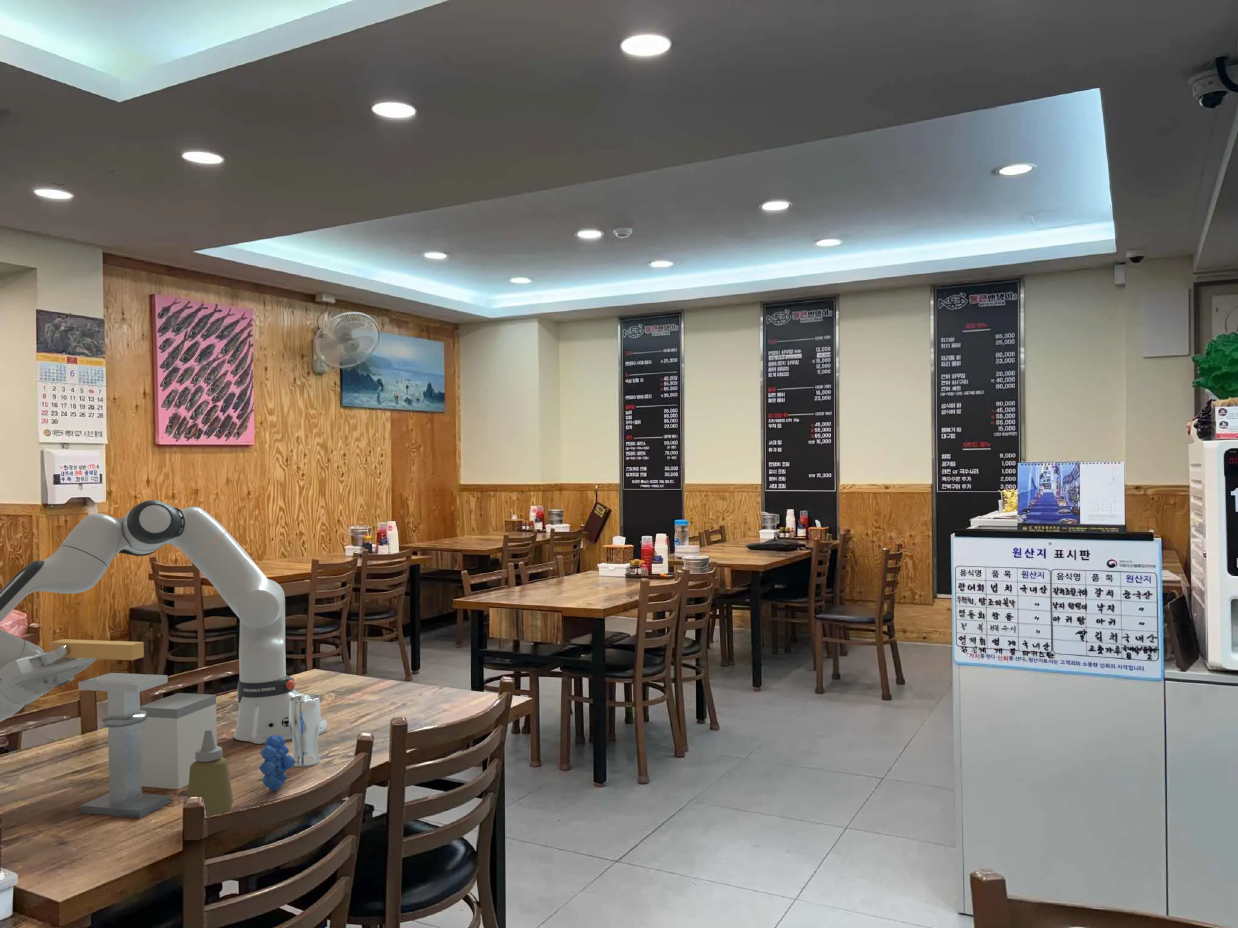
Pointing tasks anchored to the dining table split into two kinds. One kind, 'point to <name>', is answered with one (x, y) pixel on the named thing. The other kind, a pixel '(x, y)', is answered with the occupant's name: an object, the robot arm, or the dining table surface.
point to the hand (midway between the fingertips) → (75, 646)
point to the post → (124, 745)
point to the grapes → (275, 762)
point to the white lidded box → (174, 737)
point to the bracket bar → (101, 649)
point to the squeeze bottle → (211, 777)
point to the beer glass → (305, 728)
